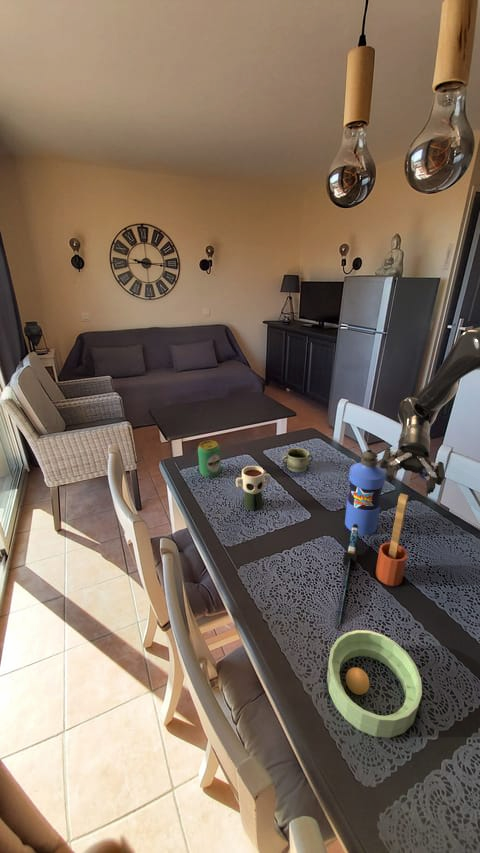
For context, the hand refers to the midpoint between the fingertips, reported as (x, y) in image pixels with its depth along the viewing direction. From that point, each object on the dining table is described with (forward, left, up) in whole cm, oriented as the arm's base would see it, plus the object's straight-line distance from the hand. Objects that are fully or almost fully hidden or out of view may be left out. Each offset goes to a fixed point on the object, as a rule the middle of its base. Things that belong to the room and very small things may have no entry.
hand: (409, 485), depth 84 cm
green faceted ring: (+15, +32, -23) cm, 42 cm away
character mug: (+38, -23, -24) cm, 50 cm away
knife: (+14, +6, -24) cm, 28 cm away
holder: (+4, +6, -23) cm, 24 cm away
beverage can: (+55, -43, -24) cm, 73 cm away
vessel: (+22, -48, -24) cm, 57 cm away
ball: (+17, +32, -23) cm, 43 cm away
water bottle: (+6, -14, -24) cm, 28 cm away
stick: (+4, +6, -23) cm, 24 cm away
